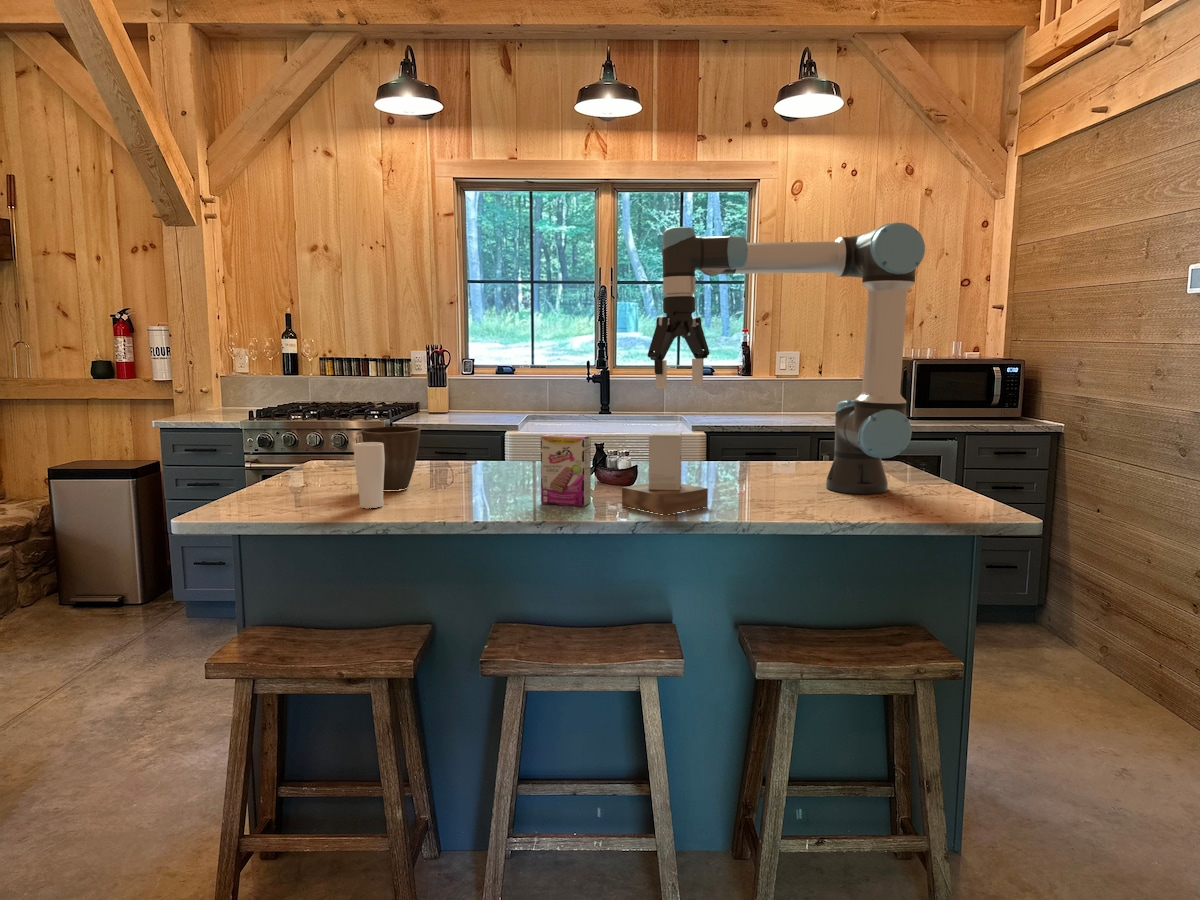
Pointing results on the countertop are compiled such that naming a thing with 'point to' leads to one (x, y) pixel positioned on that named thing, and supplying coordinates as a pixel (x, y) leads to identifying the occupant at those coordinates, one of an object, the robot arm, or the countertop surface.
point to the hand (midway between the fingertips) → (679, 387)
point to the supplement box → (665, 460)
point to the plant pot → (396, 452)
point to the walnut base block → (664, 498)
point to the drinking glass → (370, 473)
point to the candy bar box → (565, 469)
